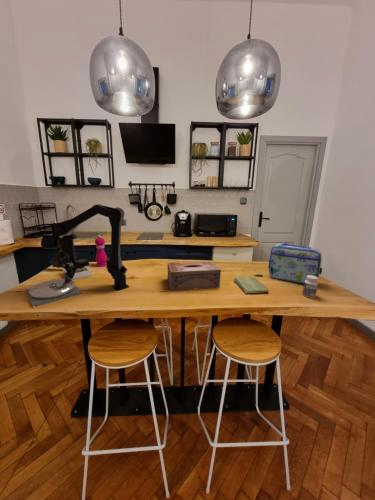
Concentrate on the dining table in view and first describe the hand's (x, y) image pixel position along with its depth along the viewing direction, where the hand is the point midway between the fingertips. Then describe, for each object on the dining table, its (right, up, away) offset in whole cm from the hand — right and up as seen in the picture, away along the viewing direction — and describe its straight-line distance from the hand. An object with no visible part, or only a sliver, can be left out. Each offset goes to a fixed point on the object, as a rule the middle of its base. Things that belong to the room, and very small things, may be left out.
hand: (71, 278), depth 105 cm
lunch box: (+118, -3, +18) cm, 119 cm away
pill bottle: (+117, -8, -1) cm, 117 cm away
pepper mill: (+1, +4, +34) cm, 34 cm away
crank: (-6, -5, -5) cm, 9 cm away
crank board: (-6, -6, -5) cm, 10 cm away
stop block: (-6, +1, +17) cm, 18 cm away
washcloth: (+91, -6, +8) cm, 91 cm away
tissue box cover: (+60, -4, +10) cm, 61 cm away
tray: (-6, 0, +17) cm, 18 cm away
